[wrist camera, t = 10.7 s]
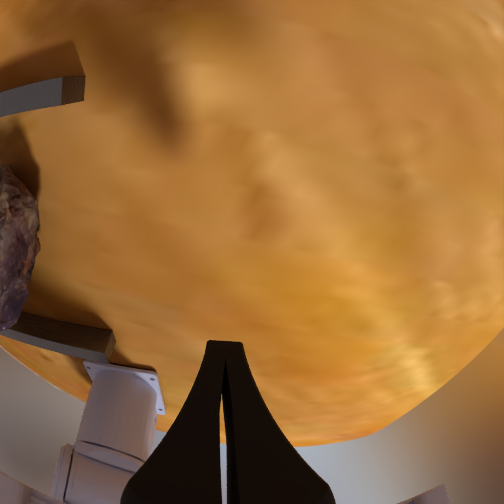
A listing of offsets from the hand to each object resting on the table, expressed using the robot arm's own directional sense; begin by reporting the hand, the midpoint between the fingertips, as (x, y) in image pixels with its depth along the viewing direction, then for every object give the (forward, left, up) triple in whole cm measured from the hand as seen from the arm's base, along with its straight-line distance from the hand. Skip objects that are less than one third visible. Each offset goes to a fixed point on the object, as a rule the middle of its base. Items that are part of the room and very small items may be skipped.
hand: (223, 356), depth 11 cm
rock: (0, +17, -8) cm, 19 cm away
